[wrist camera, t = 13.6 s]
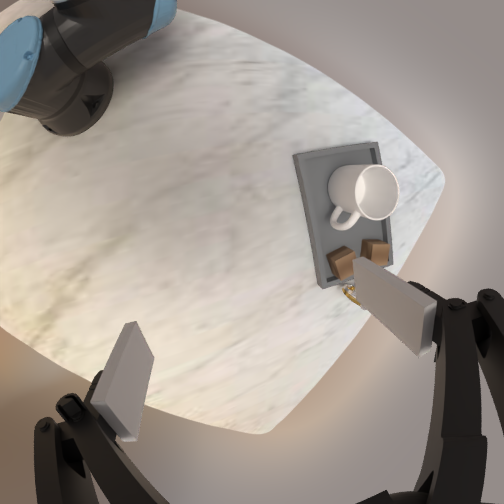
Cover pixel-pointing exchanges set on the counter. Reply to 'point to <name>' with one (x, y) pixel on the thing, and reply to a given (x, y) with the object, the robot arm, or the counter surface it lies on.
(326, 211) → the tray
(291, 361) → the counter surface
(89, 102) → the robot arm
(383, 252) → the block
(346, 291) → the ring
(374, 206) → the cup
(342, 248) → the block
